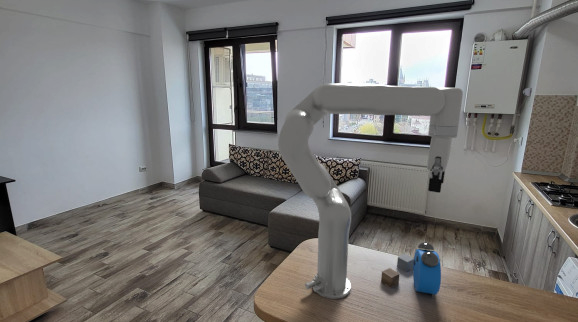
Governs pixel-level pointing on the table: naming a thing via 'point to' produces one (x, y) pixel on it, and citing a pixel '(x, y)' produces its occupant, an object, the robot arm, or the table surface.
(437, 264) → the alarm clock
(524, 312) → the table surface
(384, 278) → the walnut block
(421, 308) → the table surface
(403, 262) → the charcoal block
